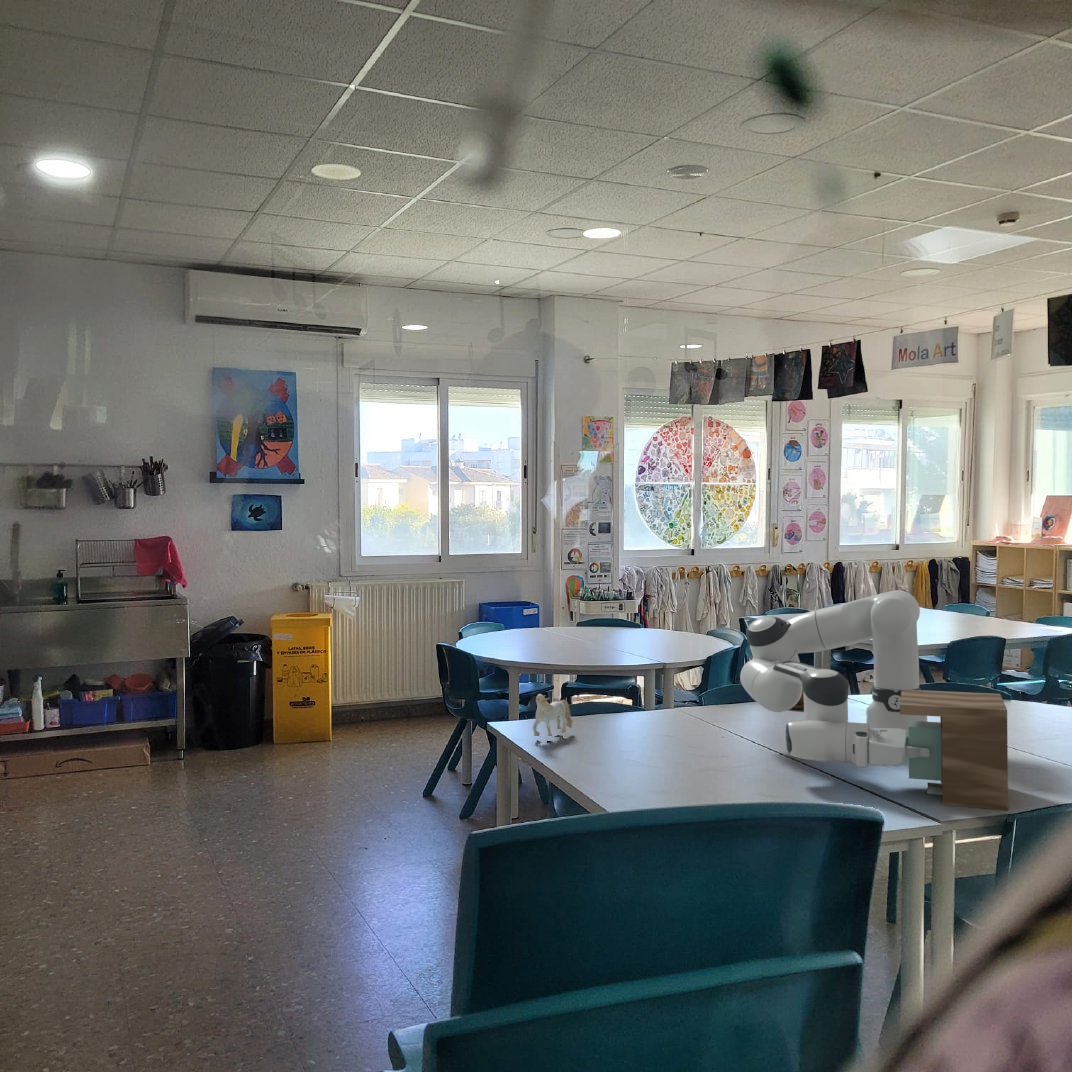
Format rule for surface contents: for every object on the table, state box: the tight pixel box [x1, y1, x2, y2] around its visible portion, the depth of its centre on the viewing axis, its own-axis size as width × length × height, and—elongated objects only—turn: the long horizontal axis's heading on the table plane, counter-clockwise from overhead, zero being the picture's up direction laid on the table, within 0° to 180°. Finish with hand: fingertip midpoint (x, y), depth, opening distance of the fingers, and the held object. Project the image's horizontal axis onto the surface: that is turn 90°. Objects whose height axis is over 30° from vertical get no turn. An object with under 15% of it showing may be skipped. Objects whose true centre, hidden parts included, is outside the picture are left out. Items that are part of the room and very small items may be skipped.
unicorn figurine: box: [532, 693, 574, 737], centre depth 265 cm, size 7×20×13 cm, turn 159°
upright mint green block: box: [908, 721, 942, 782], centre depth 210 cm, size 6×6×11 cm
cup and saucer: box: [790, 688, 804, 710], centre depth 306 cm, size 12×12×6 cm
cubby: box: [900, 689, 1009, 811], centre depth 209 cm, size 19×20×20 cm
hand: (929, 748), depth 210 cm, fingers closed on upright mint green block, 6 cm apart
